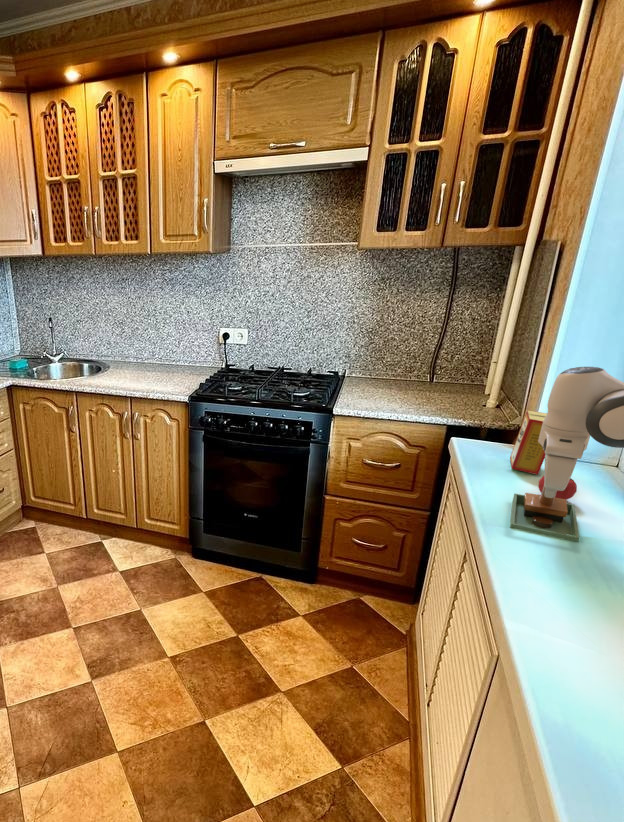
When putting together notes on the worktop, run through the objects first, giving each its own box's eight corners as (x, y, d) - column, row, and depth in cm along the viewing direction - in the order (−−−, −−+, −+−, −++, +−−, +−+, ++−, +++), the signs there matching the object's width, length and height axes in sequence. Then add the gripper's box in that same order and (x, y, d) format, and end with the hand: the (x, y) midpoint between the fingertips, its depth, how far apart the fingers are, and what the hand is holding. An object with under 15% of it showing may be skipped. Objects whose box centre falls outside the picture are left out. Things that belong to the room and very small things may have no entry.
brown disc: (549, 521, 124) (550, 517, 124) (554, 529, 121) (556, 524, 120) (529, 519, 126) (530, 514, 125) (534, 526, 122) (535, 522, 122)
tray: (511, 503, 135) (514, 493, 134) (571, 514, 128) (574, 504, 127) (508, 534, 120) (511, 523, 119) (576, 549, 114) (579, 538, 113)
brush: (522, 516, 127) (532, 481, 122) (522, 504, 131) (532, 469, 125) (563, 523, 123) (576, 487, 118) (562, 511, 127) (574, 475, 121)
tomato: (531, 497, 137) (542, 471, 134) (536, 487, 142) (546, 462, 139) (569, 509, 132) (580, 482, 129) (572, 498, 137) (584, 472, 134)
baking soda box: (538, 474, 151) (558, 423, 145) (511, 468, 154) (530, 417, 148) (535, 463, 159) (554, 413, 152) (509, 457, 162) (527, 408, 155)
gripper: (546, 423, 128) (532, 475, 133) (546, 449, 113) (531, 506, 118) (579, 427, 125) (564, 480, 130) (583, 454, 109) (566, 513, 114)
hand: (548, 493), depth 124 cm, fingers closed on brush, 3 cm apart
